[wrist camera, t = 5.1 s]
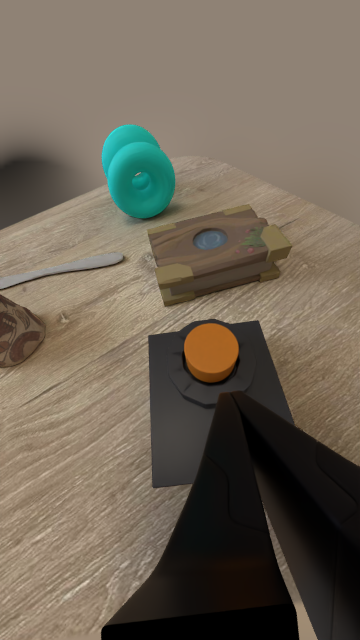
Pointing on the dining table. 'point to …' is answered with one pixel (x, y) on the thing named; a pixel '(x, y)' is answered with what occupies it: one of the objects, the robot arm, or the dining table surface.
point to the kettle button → (211, 352)
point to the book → (215, 253)
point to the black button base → (201, 397)
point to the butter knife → (63, 268)
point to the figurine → (18, 332)
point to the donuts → (131, 158)
